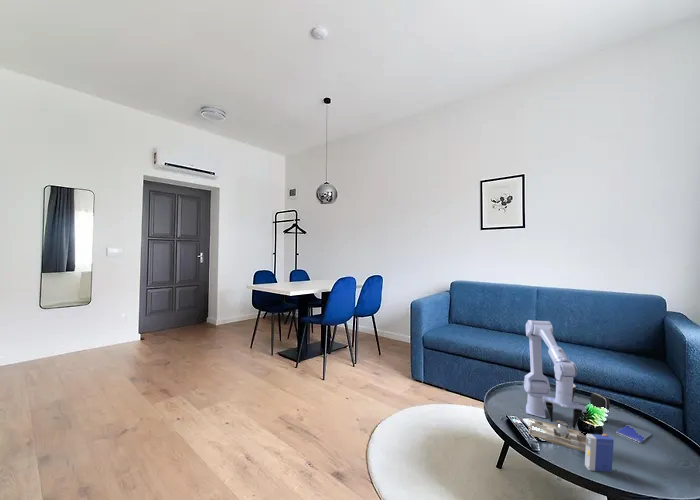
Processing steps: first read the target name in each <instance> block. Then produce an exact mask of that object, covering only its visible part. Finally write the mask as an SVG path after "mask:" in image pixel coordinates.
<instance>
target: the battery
mask: <svg viewBox="0 0 700 500" xmlns="http://www.w3.org/2000/svg"><path fill="white" fill-rule="evenodd" d="M610 402H611V401H610V399H609V397H607V396H606V395H603V394H600V393H598V392H593V393H591V394H590V401H589V403H590V404H593V405H594V406H596V407H604V408H606V409H607V411H608V410H610V407H611V406H610ZM590 404H589V405H590ZM607 422H608V420H607V421H606V422H605V423H607Z"/></svg>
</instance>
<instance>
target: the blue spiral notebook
mask: <svg viewBox="0 0 700 500" xmlns="http://www.w3.org/2000/svg"><path fill="white" fill-rule="evenodd" d="M625 426H626V425H625ZM623 427H624V426H623ZM623 427H621V428H620V429H619V430H617V431H615V433H619V434H621V435H624V436H626V437H628V438H630V439H633V440H635V441H638V442H642V441H643V439H644V437H642V436H641V435H638V433H636V431H635V430H634V429H633V428H630V427H629V426H626V427H624V428H623ZM621 435H620V436H621ZM628 438H627V439H628ZM630 439H629V440H630ZM635 441H634V442H635Z"/></svg>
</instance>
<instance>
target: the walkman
mask: <svg viewBox="0 0 700 500" xmlns="http://www.w3.org/2000/svg"><path fill="white" fill-rule="evenodd" d="M614 440H615V439H614V438H612V437H611V436H609V435H608V434H606V433H602V434H597V433H596V434H595V433H587V434H586V451H585V452H584V453H585V454H584V455H585V456H584V466H585V467H586V469H587V470H588V471H594V472H610V473H612V472H613V459H614V458H613V455H614V442H615V441H614Z"/></svg>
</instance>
